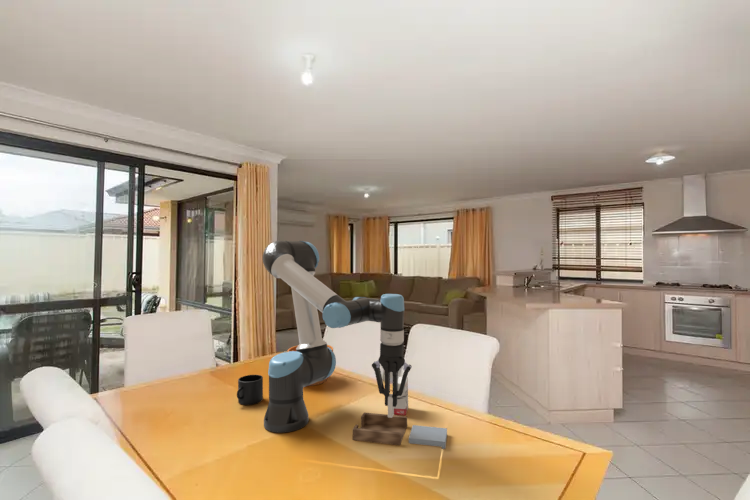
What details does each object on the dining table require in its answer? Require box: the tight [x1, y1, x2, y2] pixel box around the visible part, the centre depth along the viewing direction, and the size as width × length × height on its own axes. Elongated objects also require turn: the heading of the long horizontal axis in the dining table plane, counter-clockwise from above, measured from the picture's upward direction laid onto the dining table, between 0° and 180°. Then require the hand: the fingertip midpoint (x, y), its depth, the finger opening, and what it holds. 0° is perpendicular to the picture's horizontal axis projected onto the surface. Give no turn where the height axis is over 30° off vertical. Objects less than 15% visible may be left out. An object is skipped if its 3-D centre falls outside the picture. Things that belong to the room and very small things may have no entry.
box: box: [352, 412, 408, 446], centre depth 122 cm, size 15×13×4 cm
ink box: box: [392, 375, 409, 416], centre depth 139 cm, size 9×5×12 cm, turn 168°
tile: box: [408, 424, 448, 450], centre depth 118 cm, size 11×9×3 cm
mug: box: [236, 374, 264, 406], centre depth 151 cm, size 9×12×9 cm
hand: (390, 415), depth 121 cm, fingers closed
